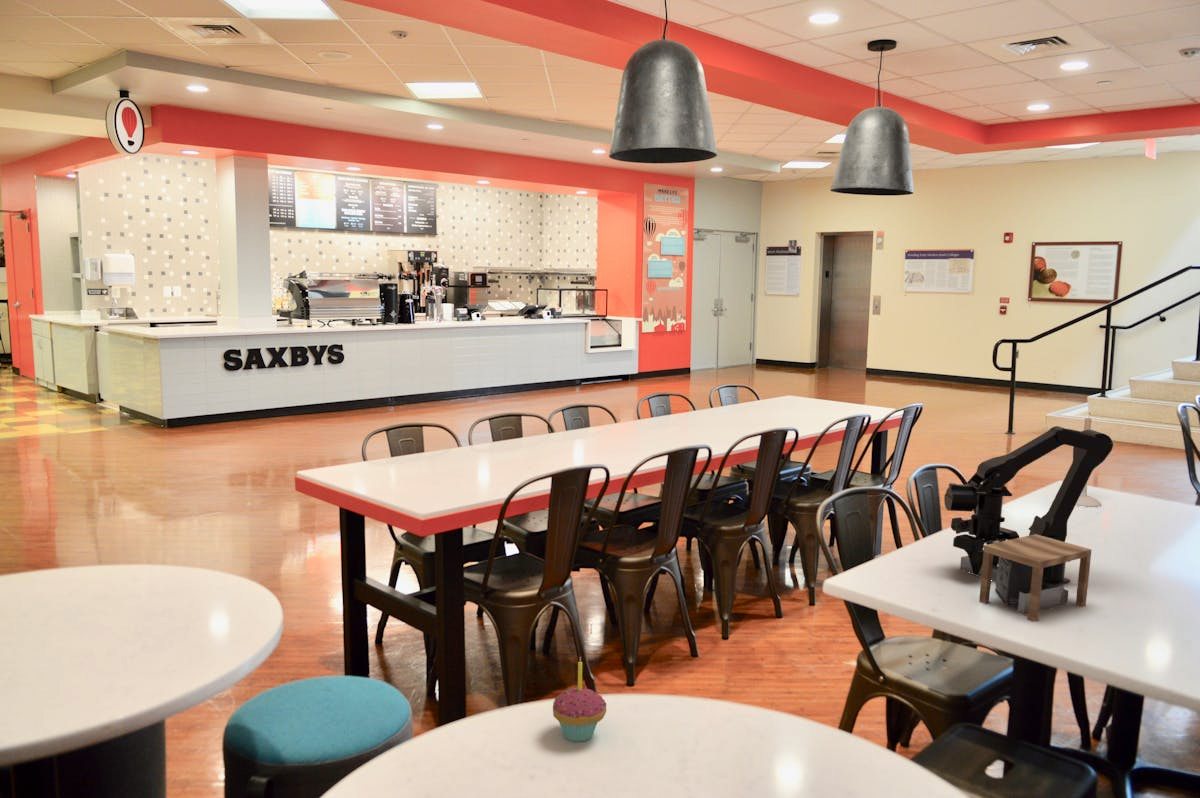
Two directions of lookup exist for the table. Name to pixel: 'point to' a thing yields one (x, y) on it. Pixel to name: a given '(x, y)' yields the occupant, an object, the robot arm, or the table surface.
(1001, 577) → the small box
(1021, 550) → the small wooden table
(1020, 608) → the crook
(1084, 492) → the candlestick
